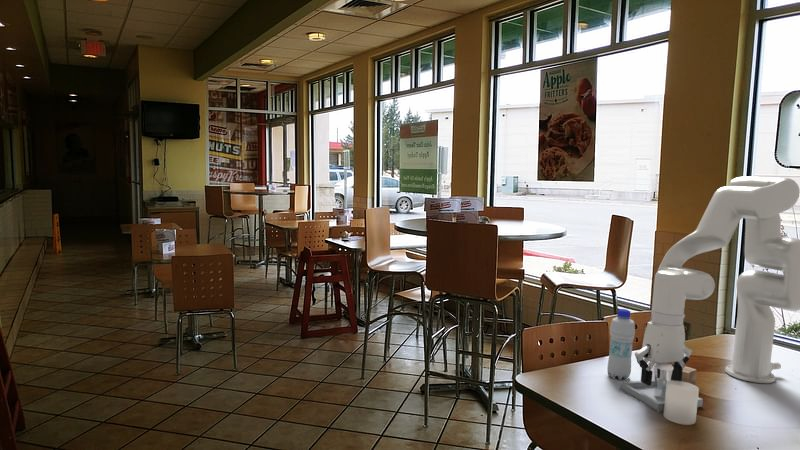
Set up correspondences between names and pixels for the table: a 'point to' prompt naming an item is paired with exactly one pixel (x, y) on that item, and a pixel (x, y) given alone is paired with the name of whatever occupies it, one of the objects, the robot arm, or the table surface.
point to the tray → (646, 394)
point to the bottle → (621, 345)
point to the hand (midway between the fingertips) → (660, 382)
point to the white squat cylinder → (681, 402)
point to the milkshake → (662, 378)
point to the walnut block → (688, 375)
